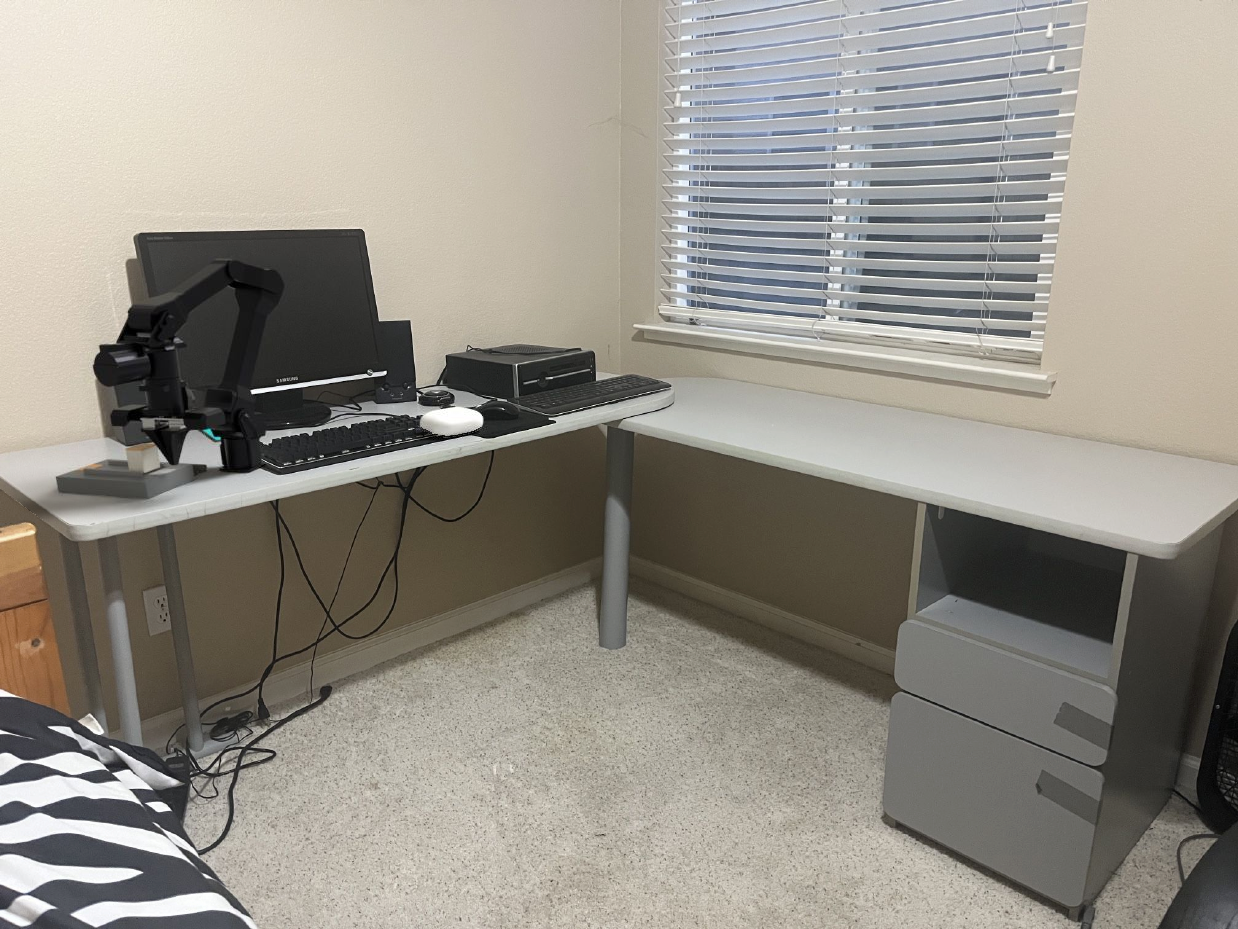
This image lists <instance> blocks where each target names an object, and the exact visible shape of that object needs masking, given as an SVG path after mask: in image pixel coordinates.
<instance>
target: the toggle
mask: <svg viewBox="0 0 1238 929" xmlns="http://www.w3.org/2000/svg"><path fill="white" fill-rule="evenodd" d="M125 454H126V460H128V466H129V471H143V473H146V472H149V471H151V470H154V469H157V468H159V467H160V462H161V461H160V458H159V449H158V447H157V446H156V445H155V444H154V443H150V442H149V443H148V442H146V443H143V442H141V443H139V444H135V445H132V446H130V447H126V448H125Z"/></svg>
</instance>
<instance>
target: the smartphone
mask: <svg viewBox="0 0 1238 929" xmlns="http://www.w3.org/2000/svg"><path fill="white" fill-rule="evenodd" d="M199 431H200V432H201V433H203V434H204V435H205V436H206V437H207V438H209V439H211V441H214V442H215V443H221V439H220V438H221V437H214V436H213V434H212V432H211V430H210V429H207V430H199Z"/></svg>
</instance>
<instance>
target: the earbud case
mask: <svg viewBox="0 0 1238 929" xmlns="http://www.w3.org/2000/svg"><path fill="white" fill-rule="evenodd" d="M483 424H484V416H482V413H480V412H479V411H477V410H475V409H470V408H466V407H462V406H455V407H447V408H442V409H434V410H430V411H428V412H426V413H425V414H423V415H422V416H421V417H420V420H419V426H420V428H421V427H422V428H423V429H426V430H428V431H430V432H432V433H435V434H438V435H445V436H450V435H458V434H462V433H467V432H471V431H474V430H476V429H478V428H480V427H481V428H482V427H483ZM481 428H480V429H481ZM458 436H459V435H458Z"/></svg>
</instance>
